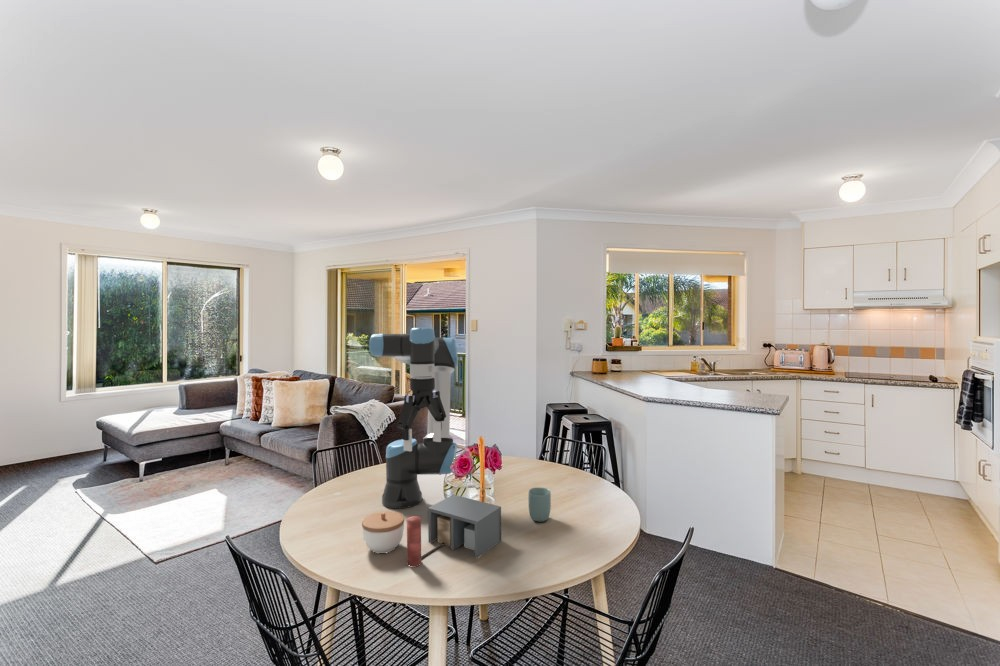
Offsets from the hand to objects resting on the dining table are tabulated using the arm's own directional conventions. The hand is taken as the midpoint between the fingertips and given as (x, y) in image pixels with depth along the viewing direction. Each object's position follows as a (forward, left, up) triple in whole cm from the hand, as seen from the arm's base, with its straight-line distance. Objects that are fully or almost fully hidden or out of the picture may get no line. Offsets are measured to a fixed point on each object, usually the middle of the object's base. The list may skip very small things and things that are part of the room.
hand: (422, 445), depth 150 cm
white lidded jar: (-9, -8, -32) cm, 34 cm away
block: (+14, +8, -31) cm, 35 cm away
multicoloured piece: (+5, -2, -31) cm, 32 cm away
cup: (+22, +35, -32) cm, 52 cm away
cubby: (+10, +9, -31) cm, 34 cm away
